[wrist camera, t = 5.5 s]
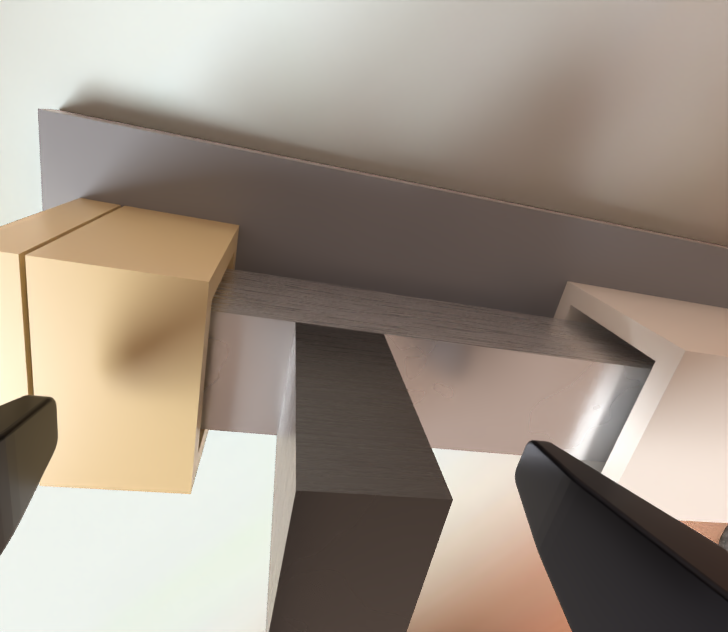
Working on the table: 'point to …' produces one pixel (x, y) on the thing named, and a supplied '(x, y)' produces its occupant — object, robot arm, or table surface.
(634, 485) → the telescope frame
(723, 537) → the dark grey statuette
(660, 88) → the table surface
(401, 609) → the steel t-shaped block
